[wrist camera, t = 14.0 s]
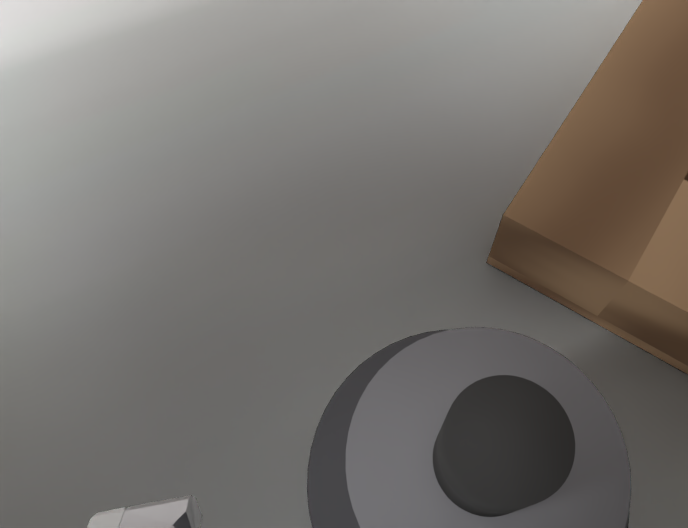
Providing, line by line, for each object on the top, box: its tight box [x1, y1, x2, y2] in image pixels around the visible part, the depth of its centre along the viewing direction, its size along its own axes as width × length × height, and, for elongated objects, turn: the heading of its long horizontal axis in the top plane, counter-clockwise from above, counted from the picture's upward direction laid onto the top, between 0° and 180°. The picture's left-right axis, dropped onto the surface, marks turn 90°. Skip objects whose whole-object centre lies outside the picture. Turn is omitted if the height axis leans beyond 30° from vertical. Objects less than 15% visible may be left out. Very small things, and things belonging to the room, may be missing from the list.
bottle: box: [307, 327, 631, 528], centre depth 10 cm, size 4×4×10 cm
